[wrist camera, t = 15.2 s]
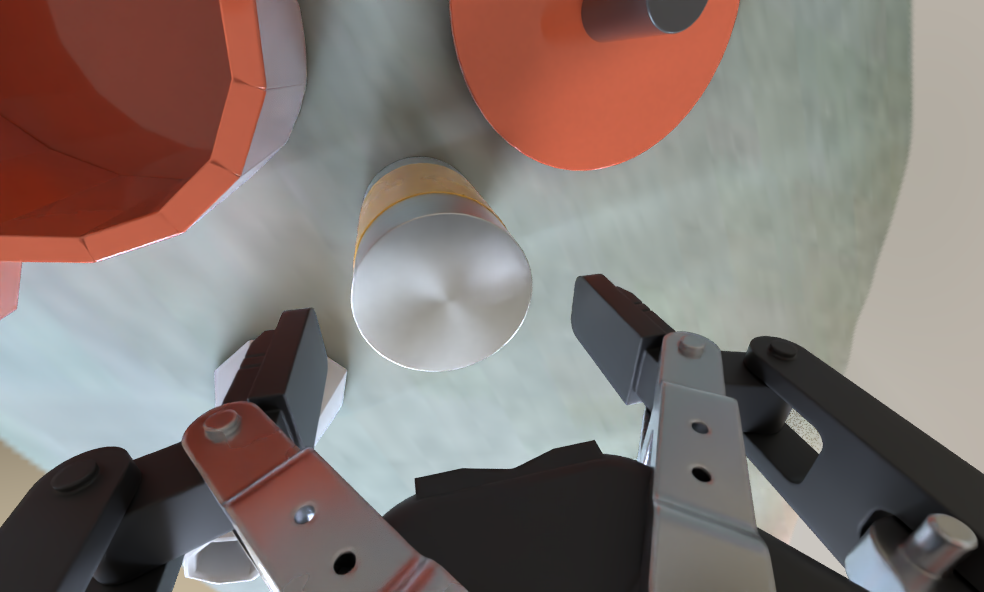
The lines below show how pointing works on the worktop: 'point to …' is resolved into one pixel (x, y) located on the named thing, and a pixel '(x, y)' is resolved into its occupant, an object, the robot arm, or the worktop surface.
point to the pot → (134, 119)
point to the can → (435, 269)
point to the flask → (225, 553)
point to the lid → (588, 71)
